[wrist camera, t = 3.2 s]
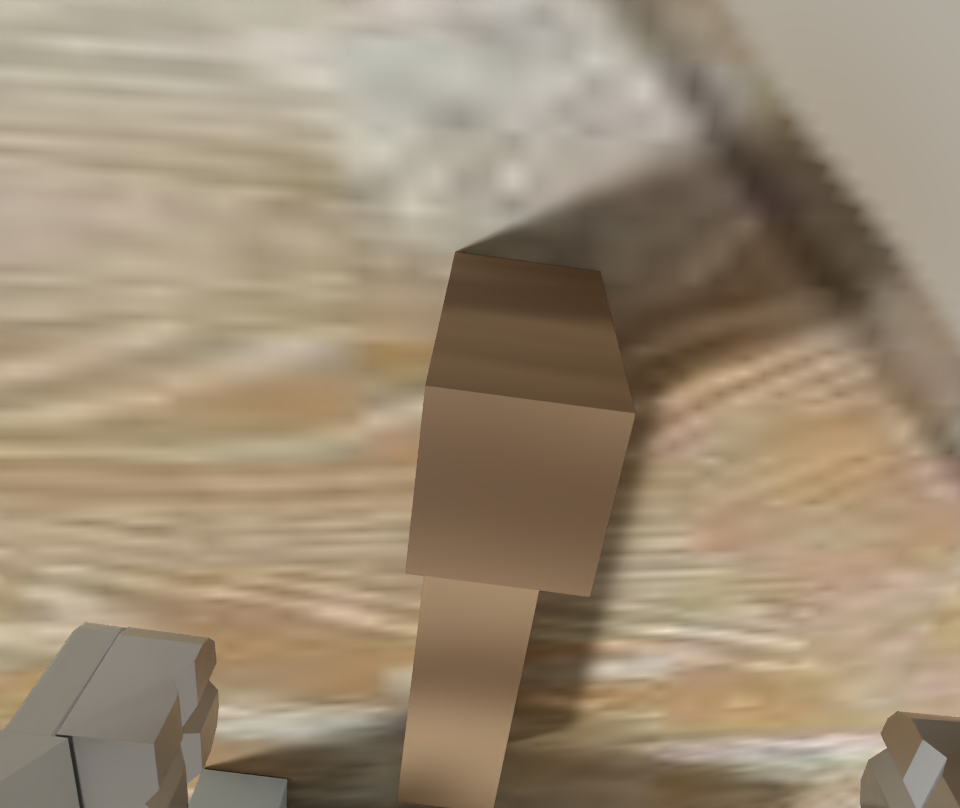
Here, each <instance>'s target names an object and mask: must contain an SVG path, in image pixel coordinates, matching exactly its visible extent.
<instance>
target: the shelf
mask: <svg viewBox="0 0 960 808" xmlns="http://www.w3.org/2000/svg"><path fill="white" fill-rule="evenodd" d="M188 808H287V779H281V778H273V777H265V776H257V775H248V774H240V773H232V772H224V771H216V770H208V769H203V772H202V773H201V775H200V777H199V780H198V782H197V785H196V787H195V790H194V792H193V795H192V797H191V800H190V803H189V806H188Z"/></svg>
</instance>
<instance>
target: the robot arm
mask: <svg viewBox="0 0 960 808" xmlns="http://www.w3.org/2000/svg"><path fill="white" fill-rule="evenodd" d="M215 665H216V652H215V642H214V641H213V640H211V639H210V638H206V637H199V636H191V635H184V634H176V633H168V632H161V631H153V630H146V629H138V628H131V627H128V628H123V627H116V626H109V625H101V624H94V623H87V622H86V623H84V624H83V625H81V626H80V627H78V628H77V629H75V630H74V631H73V632H72V634H71V635H70V636H69V638H68V639H67V641H66V642H65V644H64V645H63V646H62V648H61V649H60V651H59V652H58V654H57V655H56V656H55V658H54V659H53V661H52V662H51V663H50V665H49V666H48V668H47V669H46V671H45V672H44V673H43V675H42V676H41V678H40V679H39V681H38V682H37V683H36V685H35V686H34V688H33V689H32V691H31V692H30V693H29V695H28V696H27V698H26V699H25V700H24V702H23V703H22V705H21V706H20V708H19V709H18V710H17V712H16V713H15V715H14V716H13V718H12V719H11V720H10V722H9V723H8V725H7V726H6V728H5V729H4V730H3V731H2V730H0V808H188V806H189V805H188V791H187V783H189V782H190V781H191V780H193V779H194V778H195V777H197V776H198V775H199V774H201V773H202V772H203V769H204V767H205V764H206V761H207V759H208V756H209V754H210V751H211V747H212V743H213V739H214V735H215V731H216V727H217V719H218V708H219V701H218V690H217V689H216V687H215V686H214V685H213V684H212V683H211V682H210V681H209V678H210V676H211V674H212V672H213V669H214V667H215ZM881 736H882V738H883V740H884V742H885V744H886V746H887V749H885V750H883V751H882V752H880V753H879V754H877V755H876V756H874V757H872V758H871V759H869V760H868V763H867V765H866V768H865V770H864V773H863V776H862V778H861V789H860V805H861V808H960V717H950V716H940V715H930V714H920V713H909V712H899V711H897V712H896V713H894V714H893V715H892V716H890V717H889V718H888V719H887V721H886V723H885V725H884V727H883V730H882V732H881Z"/></svg>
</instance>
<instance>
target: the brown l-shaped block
mask: <svg viewBox="0 0 960 808" xmlns="http://www.w3.org/2000/svg"><path fill="white" fill-rule="evenodd" d="M635 415H636V412H635V409H634V405H633V401H632V397H631V393H630V389H629V385H628V381H627V377H626V373H625V369H624V365H623V361H622V357H621V353H620V349H619V345H618V341H617V337H616V333H615V329H614V325H613V321H612V317H611V313H610V309H609V306H608V302H607V298H606V294H605V290H604V286H603V282H602V278H601V274H600V272H599V271H592V270H585V269H577V268H570V267H562V266H555V265H548V264H540V263H533V262H526V261H518V260H511V259H504V258H496V257H489V256H482V255H474V254H467V253H460V252H455V255H454V260H453V264H452V269H451V273H450V278H449V282H448V287H447V291H446V296H445V300H444V305H443V309H442V313H441V318H440V322H439V327H438V331H437V336H436V340H435V345H434V349H433V354H432V358H431V363H430V367H429V372H428V376H427V381H426V385H425V394H424V403H423V413H422V422H421V431H420V441H419V450H418V460H417V469H416V478H415V488H414V497H413V507H412V516H411V525H410V535H409V544H408V553H407V563H406V572H405V573H406V574H414V575H422V576H424V582H423V590H422V598H421V606H420V615H419V623H418V631H417V639H416V648H415V656H414V664H413V673H412V681H411V689H410V697H409V706H408V714H407V722H406V731H405V739H404V747H403V755H402V764H401V772H400V780H399V788H398V797H397V802H405V803H413V804H422V805H430V806H438V807H446V808H494V803H495V799H496V794H497V789H498V784H499V779H500V775H501V770H502V765H503V760H504V756H505V751H506V746H507V741H508V737H509V732H510V727H511V722H512V718H513V713H514V708H515V703H516V699H517V694H518V689H519V684H520V679H521V675H522V670H523V665H524V660H525V656H526V651H527V646H528V641H529V637H530V632H531V627H532V622H533V618H534V613H535V608H536V603H537V599H538V594H539V591H547V592H555V593H563V594H571V595H578V596H586V597H590V595H591V591H592V587H593V583H594V579H595V575H596V571H597V567H598V563H599V559H600V555H601V551H602V547H603V543H604V539H605V535H606V531H607V527H608V523H609V519H610V515H611V511H612V507H613V503H614V499H615V495H616V491H617V487H618V483H619V479H620V475H621V471H622V467H623V463H624V459H625V455H626V451H627V447H628V443H629V439H630V435H631V431H632V427H633V423H634V419H635Z"/></svg>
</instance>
